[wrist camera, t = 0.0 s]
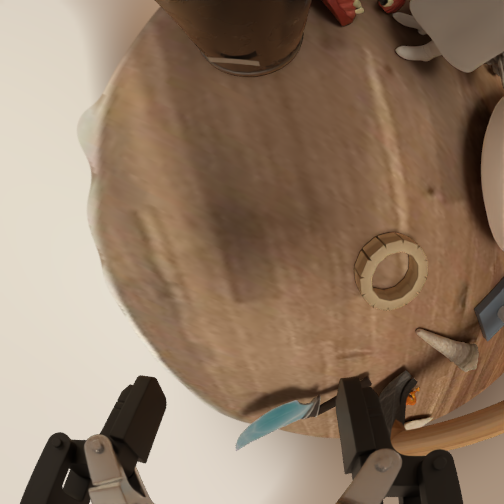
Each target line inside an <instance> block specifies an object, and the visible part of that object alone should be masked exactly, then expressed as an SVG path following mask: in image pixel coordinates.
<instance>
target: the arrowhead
mask: <svg viewBox="0 0 504 504" xmlns="http://www.w3.org/2000/svg"><path fill="white" fill-rule="evenodd" d="M431 419H433V418H426V419H420V420H414V421H409V422H406V423H404V427H405V429H406V430H411V429H416V428H420V427H422V426H424V425H425V424H426V423H428V422H429V421H430V420H431Z"/></svg>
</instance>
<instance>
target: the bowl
mask: <svg viewBox="0 0 504 504" xmlns="http://www.w3.org/2000/svg"><path fill="white" fill-rule="evenodd" d="M481 185H482V192H483V200H484V204H485V209H486V213H487V218H488V222H489V226H490V229H491V231H492V234H493V237H494V239H495V241H496V242H497V244H498V246H499V247H500V248H501V249H502V250H503V251H504V97H502V98H501V99H500V101H499V102H498V103H497V105H496V106H495V108H494V110H493V113H492V115H491V117H490V120H489V124H488V126H487V129H486V133H485V137H484V141H483V148H482V156H481Z"/></svg>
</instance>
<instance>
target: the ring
mask: <svg viewBox="0 0 504 504" xmlns="http://www.w3.org/2000/svg"><path fill="white" fill-rule="evenodd" d="M363 250H364V251H362V250H361V251H360V254H359V256H358V258H357V261H356V263H355V268H354V273H355V282H356V285H357V287H358V289H359V291H360V293H361V295H362V297H363V298H364V299H365V300H366V301H367V302H368V304H369V305H370V306H372V307H373V308H376V309H381V310H385V311H387V310H389V311H390V310H393V309H397V308H400V307H403V306H404V304H405V305H407V304H408V303H409V302H410V301H411V300H412V299H414V298H415V297H416V296H417V295H418V294H417V292H418V293H420V291H421V289H422V287H423V285H424V283H425V281H426V279H427V278H426V276H428V260H427V257H426V255H425V254H424V252H423V250H422V249H421V247H420V246H419V245H418V244H417V243H415V242H414V241H413V240H412V239H411V238H409V237H408V236H405V235H402V234H400V233H397V232H395V233H394V232H391V233H387V234H382V235H378V239H377V238H376V237H374V238H373V239H372V240H371V241H370V242H369V243H368V244H367V245H365V246H364V247H363ZM398 252H404V253H406V254H408V255H409V269H408V271H407V273H406V275H405V277H404V279H403V280H402V281H401V282H400V283H398V284H397V285H396V286H395V287H392V288H388V289H385V290H381V289H378V288H374V287H372V276H373V274H374V272H375V269H376V267H377V265H378V264H379V263H380V262H381V261H382V260H384V259H385V258H386V257H387V256H388V255H390V254H394V253H398Z"/></svg>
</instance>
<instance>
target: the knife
mask: <svg viewBox="0 0 504 504" xmlns="http://www.w3.org/2000/svg"><path fill="white" fill-rule="evenodd" d="M360 383H361V387H362V388H365V387H369V386H371V385H372V383H371V381H370V380H369V378H368V377H366V378H364V379H363V380H361V381H360ZM336 398H337V396H335V397H334V398H332V399H330V400H328V401H327V402H325V403H323V404H321V405H320V394H319V395H318V396H317V397H316V398H314V399H313V400H312V401H311V402H310V403H307V404H302V403H299V402H298V401H297V400H295V401H292V402H289V403H286V404H283V405H281V406H279V407H276V408H274V409H272V410H271V411H269V412H267V413H266V414H264V415H262V416H261V417H260V418H258V419H257V420H256V421H255V422H253V423H252V424H251V425H250V426H248V427H247V428H246V429H245V430H244V432H243V433H242V434H241V435H240V437H239V438H238V440H237V443H236V451H237V450H239V449H240V448H242V447H244V446H245V445H247V444H249V443H250V442H252V441H254V440H257V439H259V438H260V437H263V436H265V435H267V434H269V433H271V432H273V431H275V430H277V429H279V428H282V427H284V426H286V425H288V424H290V423H292V422H295V421H297V420H299V419H306V418H309V417H317V416H318V415H320V414H322V413H324V412H325V411H327V410H329V409H331V408H333V407H335V406H336Z"/></svg>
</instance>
